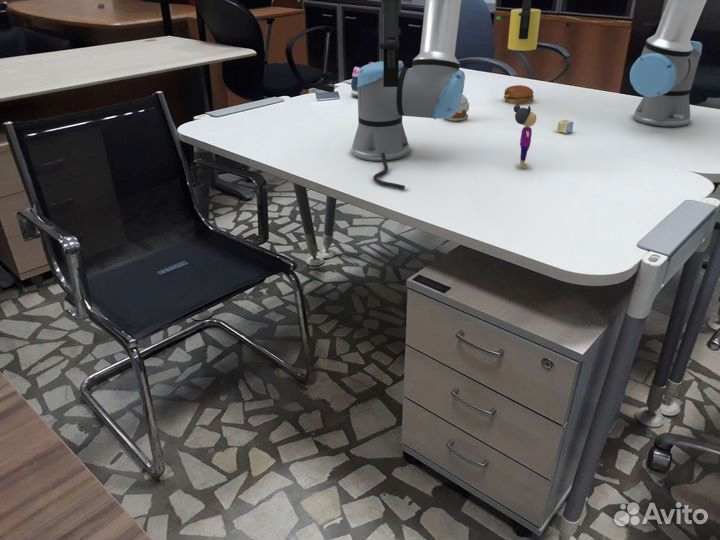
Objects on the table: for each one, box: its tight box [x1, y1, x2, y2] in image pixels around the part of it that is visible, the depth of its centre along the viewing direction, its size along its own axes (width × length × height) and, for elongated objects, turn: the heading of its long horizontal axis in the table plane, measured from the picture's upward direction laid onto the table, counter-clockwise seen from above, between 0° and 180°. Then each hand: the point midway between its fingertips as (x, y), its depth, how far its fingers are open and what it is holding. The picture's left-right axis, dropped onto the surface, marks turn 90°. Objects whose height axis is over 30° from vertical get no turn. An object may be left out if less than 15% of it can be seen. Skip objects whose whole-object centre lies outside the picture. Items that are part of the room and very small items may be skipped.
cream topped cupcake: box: [447, 94, 470, 122], centre depth 176 cm, size 8×8×15 cm
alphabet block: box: [557, 119, 574, 134], centre depth 165 cm, size 3×3×3 cm
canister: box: [507, 8, 542, 52], centre depth 178 cm, size 9×9×11 cm
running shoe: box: [350, 61, 374, 98], centre depth 209 cm, size 9×26×11 cm, turn 138°
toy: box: [512, 104, 537, 169], centre depth 139 cm, size 10×6×15 cm, turn 168°
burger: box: [503, 84, 534, 105], centre depth 195 cm, size 10×9×5 cm
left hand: (390, 78), depth 109 cm, fingers open, 13 cm apart
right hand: (523, 36), depth 179 cm, fingers closed on canister, 9 cm apart
